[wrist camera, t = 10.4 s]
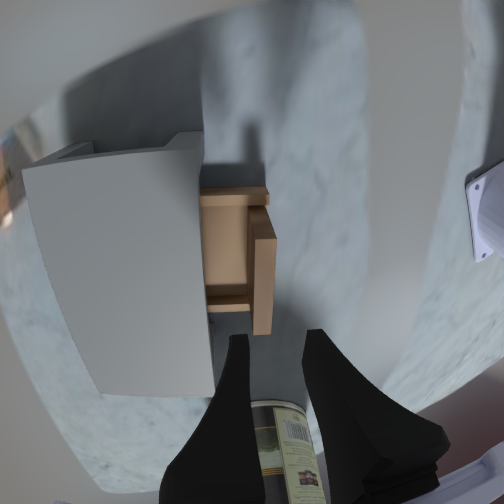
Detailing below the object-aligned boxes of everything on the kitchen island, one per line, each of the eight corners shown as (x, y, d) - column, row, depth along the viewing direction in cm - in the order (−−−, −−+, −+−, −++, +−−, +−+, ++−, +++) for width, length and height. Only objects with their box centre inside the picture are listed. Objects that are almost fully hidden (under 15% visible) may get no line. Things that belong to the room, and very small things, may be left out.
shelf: (203, 130, 16) (195, 148, 11) (214, 336, 24) (215, 397, 19) (72, 144, 16) (21, 169, 11) (116, 336, 23) (99, 393, 18)
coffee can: (206, 440, 32) (211, 547, 20) (224, 395, 28) (233, 535, 15) (287, 443, 34) (306, 541, 22) (321, 400, 30) (355, 520, 18)
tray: (265, 184, 19) (280, 218, 14) (261, 294, 23) (271, 346, 18) (118, 191, 18) (87, 226, 13) (137, 297, 22) (121, 348, 17)
